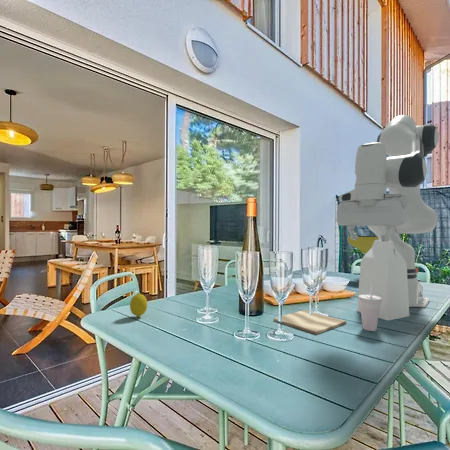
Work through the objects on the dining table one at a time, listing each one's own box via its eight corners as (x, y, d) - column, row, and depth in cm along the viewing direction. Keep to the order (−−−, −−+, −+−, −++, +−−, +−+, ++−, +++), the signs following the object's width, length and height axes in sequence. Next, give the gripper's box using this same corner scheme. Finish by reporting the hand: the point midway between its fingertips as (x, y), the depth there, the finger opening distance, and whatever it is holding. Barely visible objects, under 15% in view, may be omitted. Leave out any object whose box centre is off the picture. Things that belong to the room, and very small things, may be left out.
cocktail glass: (376, 284, 161) (376, 237, 161) (342, 280, 174) (342, 236, 174) (386, 280, 175) (387, 236, 174) (354, 276, 187) (354, 235, 187)
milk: (357, 311, 112) (357, 239, 112) (378, 307, 117) (378, 239, 117) (387, 320, 101) (388, 241, 101) (409, 316, 106) (410, 240, 106)
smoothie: (368, 333, 89) (368, 285, 88) (353, 326, 95) (353, 281, 95) (386, 331, 90) (387, 284, 90) (370, 324, 96) (371, 280, 96)
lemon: (142, 320, 99) (142, 295, 99) (126, 319, 100) (126, 294, 100) (150, 315, 104) (150, 291, 104) (135, 314, 105) (135, 290, 105)
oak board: (304, 312, 110) (304, 309, 110) (346, 323, 97) (346, 321, 97) (273, 320, 100) (273, 318, 100) (316, 334, 87) (316, 331, 87)
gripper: (411, 193, 88) (410, 242, 87) (344, 198, 103) (343, 239, 103) (402, 191, 84) (401, 242, 83) (334, 196, 100) (333, 239, 99)
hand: (369, 240), depth 93 cm, fingers open, 8 cm apart
